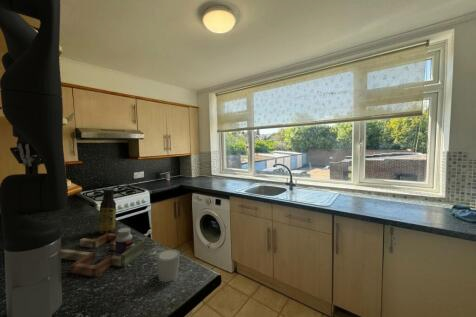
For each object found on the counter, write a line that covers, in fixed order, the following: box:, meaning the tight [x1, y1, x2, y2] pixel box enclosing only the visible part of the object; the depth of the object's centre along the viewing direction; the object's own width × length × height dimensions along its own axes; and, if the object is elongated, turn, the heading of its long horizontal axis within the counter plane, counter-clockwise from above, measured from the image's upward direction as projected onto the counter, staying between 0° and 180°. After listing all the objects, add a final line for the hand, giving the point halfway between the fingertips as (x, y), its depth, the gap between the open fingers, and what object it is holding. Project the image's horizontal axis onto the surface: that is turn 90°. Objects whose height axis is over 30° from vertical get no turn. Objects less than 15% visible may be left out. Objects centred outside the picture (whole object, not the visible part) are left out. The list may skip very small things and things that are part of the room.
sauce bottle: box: [98, 187, 117, 235], centre depth 91 cm, size 6×6×20 cm
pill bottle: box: [114, 227, 134, 256], centre depth 72 cm, size 5×5×10 cm
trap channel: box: [61, 233, 144, 278], centre depth 73 cm, size 26×22×4 cm
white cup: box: [156, 248, 181, 283], centre depth 63 cm, size 7×7×7 cm
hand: (32, 177), depth 63 cm, fingers closed
